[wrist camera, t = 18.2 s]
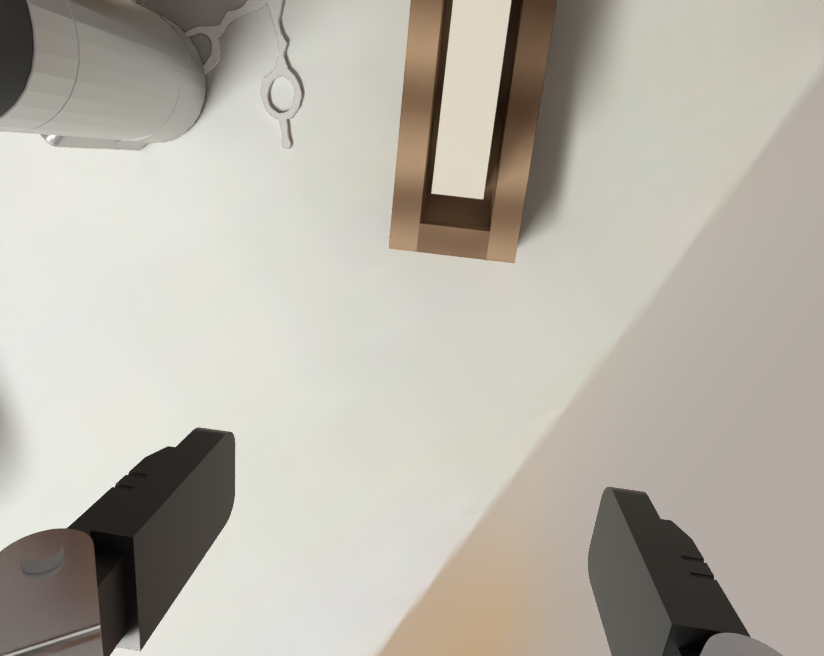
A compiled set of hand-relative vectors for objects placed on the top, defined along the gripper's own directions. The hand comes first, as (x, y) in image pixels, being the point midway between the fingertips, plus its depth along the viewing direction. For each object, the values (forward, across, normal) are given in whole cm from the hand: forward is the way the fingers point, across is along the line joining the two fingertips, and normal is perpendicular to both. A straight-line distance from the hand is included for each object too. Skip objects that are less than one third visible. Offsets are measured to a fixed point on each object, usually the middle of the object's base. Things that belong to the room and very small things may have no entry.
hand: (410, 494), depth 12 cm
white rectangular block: (+32, 0, -11) cm, 34 cm away
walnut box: (+33, 0, -11) cm, 35 cm away
